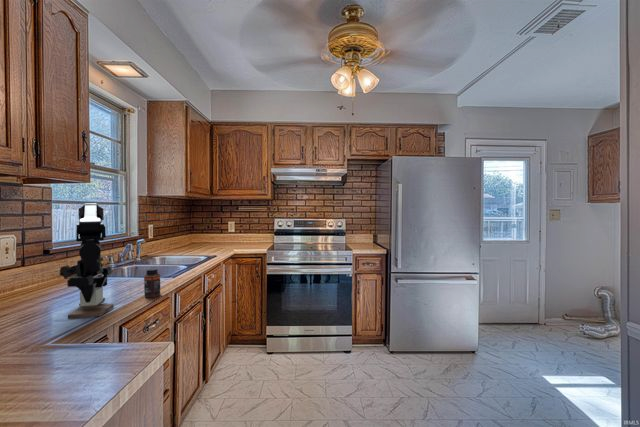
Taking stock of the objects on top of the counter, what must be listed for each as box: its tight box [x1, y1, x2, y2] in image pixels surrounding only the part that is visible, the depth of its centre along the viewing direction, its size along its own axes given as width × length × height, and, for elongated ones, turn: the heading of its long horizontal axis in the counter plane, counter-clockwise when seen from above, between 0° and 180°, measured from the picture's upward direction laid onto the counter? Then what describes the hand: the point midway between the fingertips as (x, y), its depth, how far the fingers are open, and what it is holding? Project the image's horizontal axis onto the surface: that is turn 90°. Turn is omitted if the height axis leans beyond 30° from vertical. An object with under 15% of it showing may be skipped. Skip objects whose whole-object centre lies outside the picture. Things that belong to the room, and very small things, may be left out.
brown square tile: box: [67, 303, 115, 319], centre depth 113 cm, size 10×10×1 cm
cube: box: [79, 286, 104, 307], centre depth 113 cm, size 5×5×5 cm
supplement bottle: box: [143, 267, 161, 299], centre depth 133 cm, size 6×6×11 cm
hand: (91, 299), depth 113 cm, fingers closed on cube, 5 cm apart
